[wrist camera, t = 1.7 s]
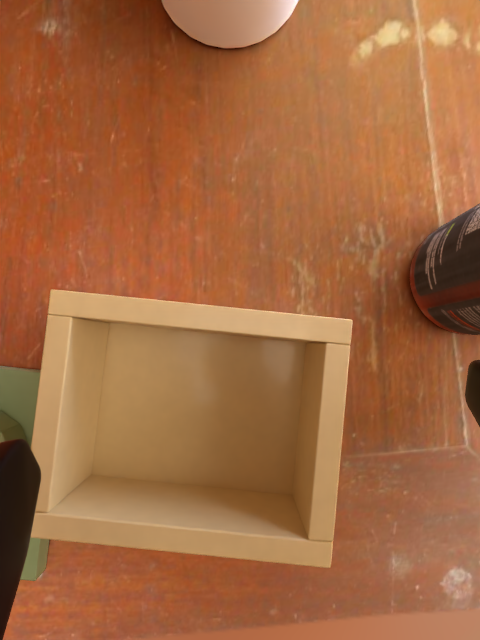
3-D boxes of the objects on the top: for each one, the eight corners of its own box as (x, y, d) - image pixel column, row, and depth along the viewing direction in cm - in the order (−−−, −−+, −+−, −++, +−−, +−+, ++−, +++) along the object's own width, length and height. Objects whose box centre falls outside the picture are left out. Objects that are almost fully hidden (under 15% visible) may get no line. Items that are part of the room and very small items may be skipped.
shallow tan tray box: (307, 511, 22) (331, 569, 17) (75, 487, 22) (19, 537, 17) (324, 325, 23) (353, 319, 17) (97, 302, 23) (50, 289, 17)
